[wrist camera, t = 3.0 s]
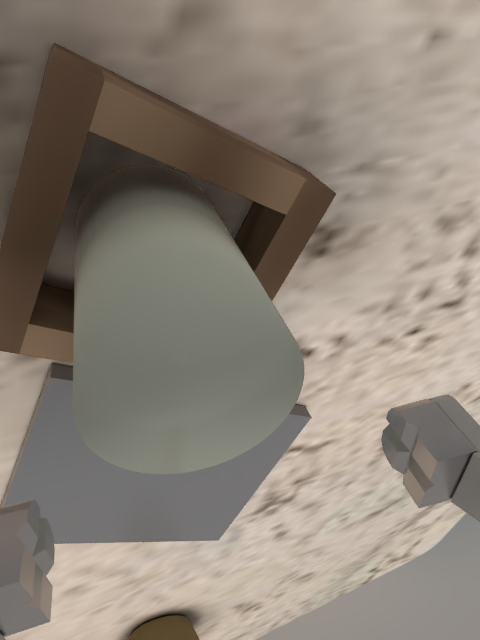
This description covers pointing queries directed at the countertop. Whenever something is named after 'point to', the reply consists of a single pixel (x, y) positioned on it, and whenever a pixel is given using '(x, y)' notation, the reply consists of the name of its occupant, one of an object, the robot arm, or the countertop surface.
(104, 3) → the countertop surface
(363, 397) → the countertop surface
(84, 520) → the charcoal tile
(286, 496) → the countertop surface
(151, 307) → the pale green mug
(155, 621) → the squeeze bottle
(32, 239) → the walnut holder
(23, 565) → the robot arm
